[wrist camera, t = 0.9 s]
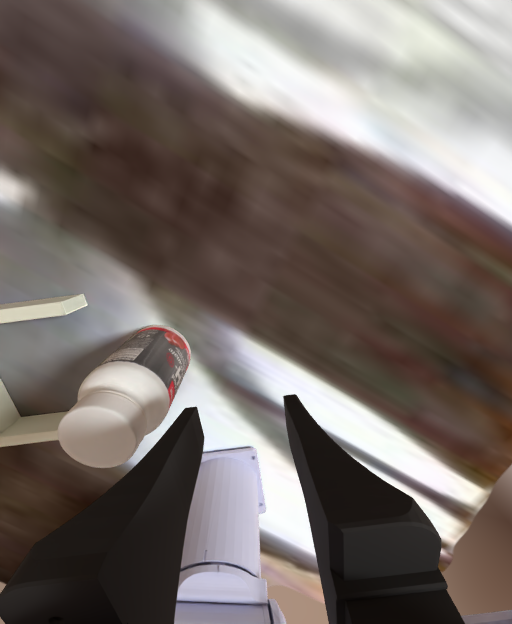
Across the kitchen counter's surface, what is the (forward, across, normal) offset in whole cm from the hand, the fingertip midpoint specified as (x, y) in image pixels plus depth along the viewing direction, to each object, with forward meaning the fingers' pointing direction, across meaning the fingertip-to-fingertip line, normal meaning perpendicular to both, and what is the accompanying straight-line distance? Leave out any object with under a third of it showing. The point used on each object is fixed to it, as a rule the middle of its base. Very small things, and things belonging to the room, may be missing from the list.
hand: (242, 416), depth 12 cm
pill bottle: (+10, +8, 0) cm, 12 cm away
